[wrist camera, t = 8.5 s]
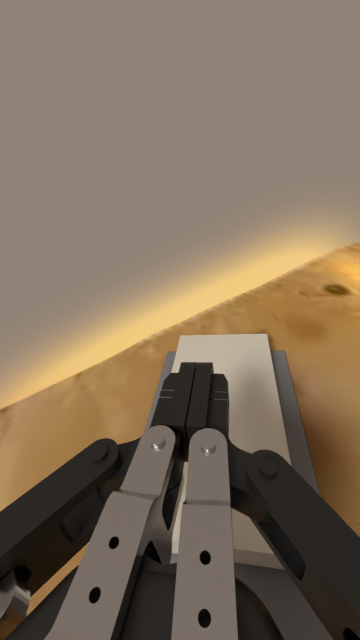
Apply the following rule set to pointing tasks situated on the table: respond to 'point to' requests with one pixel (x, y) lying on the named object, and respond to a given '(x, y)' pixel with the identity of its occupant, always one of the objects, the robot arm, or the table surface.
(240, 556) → the tile
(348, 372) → the table surface
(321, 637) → the felt mat
